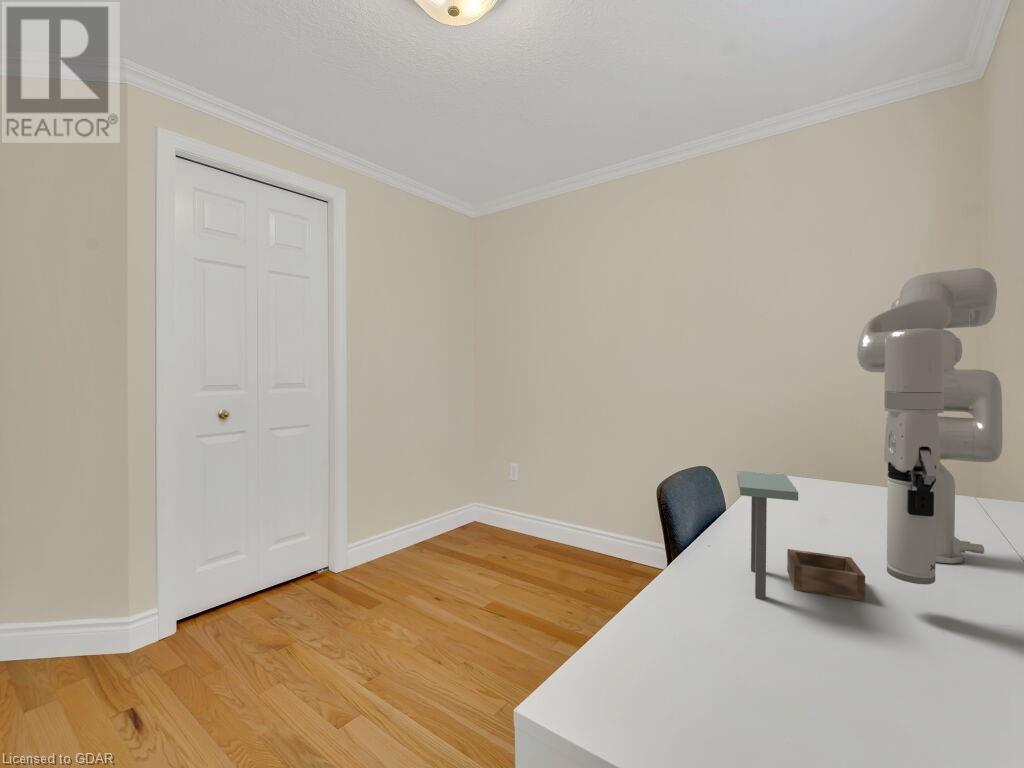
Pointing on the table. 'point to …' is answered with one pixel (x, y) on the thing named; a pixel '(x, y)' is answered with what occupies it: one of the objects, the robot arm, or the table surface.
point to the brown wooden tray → (825, 574)
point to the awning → (762, 515)
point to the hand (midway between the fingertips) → (912, 508)
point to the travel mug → (909, 533)
